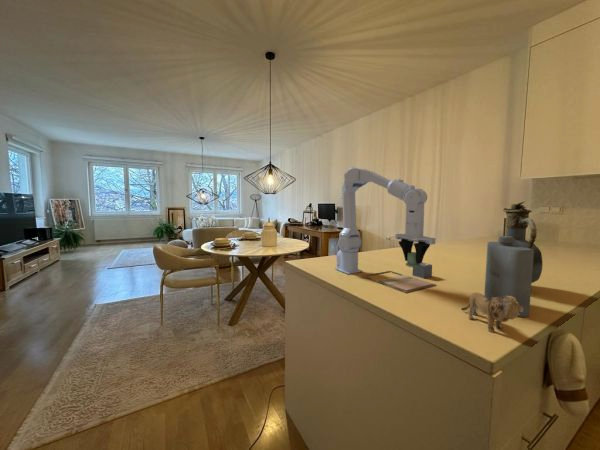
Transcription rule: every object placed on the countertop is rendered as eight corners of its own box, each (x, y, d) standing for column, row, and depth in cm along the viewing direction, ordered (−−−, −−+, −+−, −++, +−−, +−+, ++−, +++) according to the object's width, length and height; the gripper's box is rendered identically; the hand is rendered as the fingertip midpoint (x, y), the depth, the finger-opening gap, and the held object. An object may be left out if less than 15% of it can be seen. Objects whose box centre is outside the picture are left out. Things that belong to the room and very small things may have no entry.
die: (412, 275, 101) (412, 263, 100) (420, 273, 103) (420, 262, 103) (423, 278, 96) (424, 266, 96) (431, 277, 99) (432, 264, 98)
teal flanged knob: (402, 265, 88) (403, 252, 88) (411, 263, 90) (412, 251, 90) (414, 268, 84) (415, 255, 83) (423, 266, 86) (424, 253, 86)
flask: (478, 295, 78) (481, 233, 77) (498, 296, 77) (503, 233, 76) (507, 316, 64) (513, 240, 62) (533, 318, 63) (539, 240, 61)
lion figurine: (526, 339, 53) (529, 298, 52) (505, 341, 52) (508, 300, 52) (469, 310, 68) (470, 278, 67) (452, 311, 67) (453, 279, 66)
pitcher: (520, 282, 91) (526, 201, 89) (552, 301, 73) (560, 200, 71) (485, 279, 95) (490, 201, 93) (507, 296, 77) (513, 200, 75)
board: (361, 276, 99) (361, 275, 99) (390, 271, 107) (390, 270, 107) (405, 293, 81) (405, 291, 81) (436, 285, 88) (436, 283, 88)
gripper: (390, 222, 90) (389, 259, 92) (426, 225, 78) (424, 267, 79) (403, 221, 94) (402, 257, 95) (440, 224, 81) (438, 265, 82)
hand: (413, 261), depth 87 cm, fingers closed on teal flanged knob, 4 cm apart
